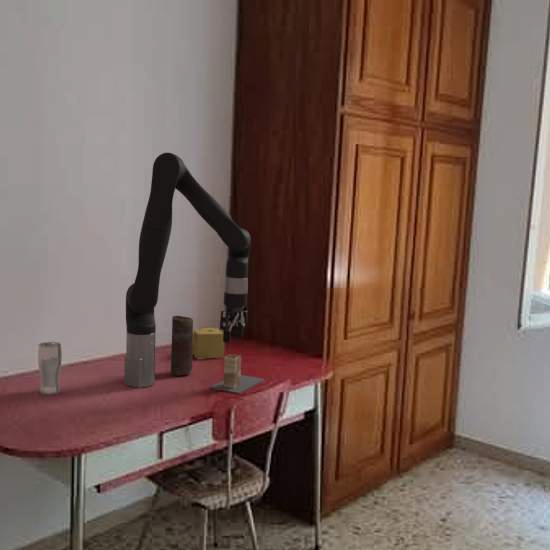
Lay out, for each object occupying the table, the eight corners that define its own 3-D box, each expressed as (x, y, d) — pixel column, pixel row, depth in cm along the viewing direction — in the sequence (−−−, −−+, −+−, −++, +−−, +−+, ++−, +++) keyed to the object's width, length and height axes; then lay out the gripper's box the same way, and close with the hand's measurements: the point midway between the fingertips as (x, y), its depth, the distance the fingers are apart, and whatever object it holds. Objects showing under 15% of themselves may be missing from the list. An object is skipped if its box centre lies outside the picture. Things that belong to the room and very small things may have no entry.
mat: (239, 393, 227) (239, 392, 227) (209, 388, 232) (209, 387, 232) (264, 380, 243) (264, 379, 243) (235, 375, 248) (235, 374, 248)
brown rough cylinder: (175, 369, 251) (176, 314, 248) (195, 371, 250) (196, 315, 247) (167, 375, 244) (168, 318, 241) (188, 377, 242) (189, 320, 240)
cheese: (190, 353, 276) (191, 327, 274) (218, 352, 279) (218, 327, 277) (196, 360, 266) (196, 333, 264) (224, 359, 269) (225, 333, 268)
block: (234, 388, 231) (235, 357, 230) (223, 386, 233) (224, 355, 232) (240, 385, 235) (241, 355, 234) (229, 383, 237) (230, 353, 235)
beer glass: (62, 388, 225) (63, 341, 223) (60, 394, 219) (60, 347, 216) (39, 388, 224) (39, 341, 222) (36, 395, 217) (36, 347, 215)
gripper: (235, 295, 221) (232, 346, 224) (256, 289, 234) (253, 338, 236) (214, 292, 225) (211, 342, 227) (236, 287, 237) (233, 334, 239)
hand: (233, 340), depth 232 cm, fingers open, 8 cm apart
